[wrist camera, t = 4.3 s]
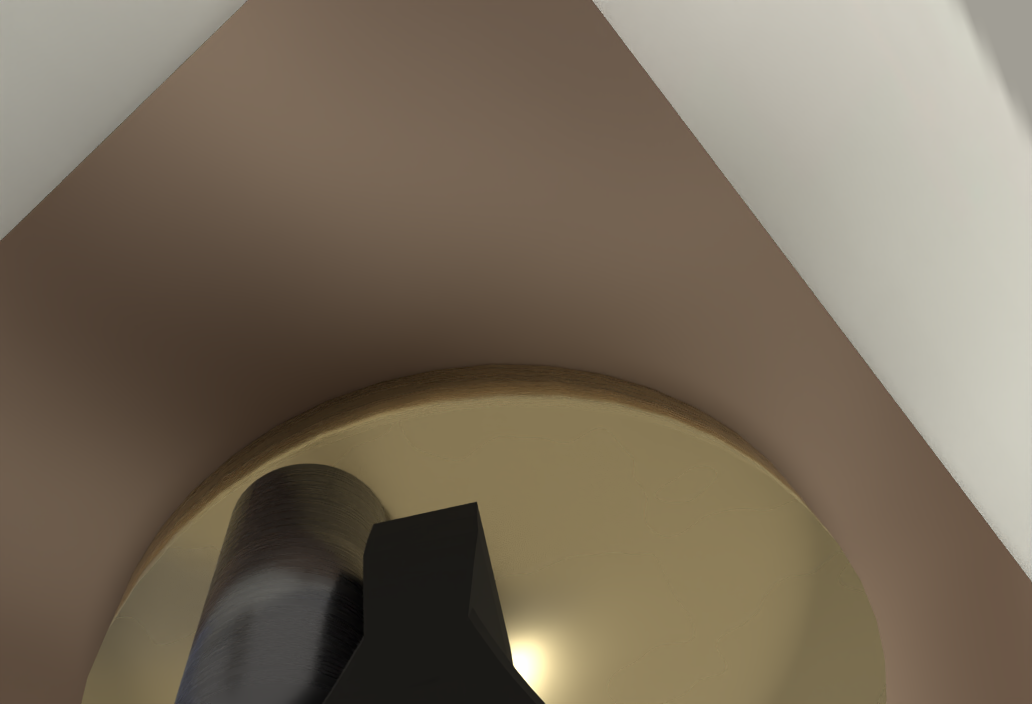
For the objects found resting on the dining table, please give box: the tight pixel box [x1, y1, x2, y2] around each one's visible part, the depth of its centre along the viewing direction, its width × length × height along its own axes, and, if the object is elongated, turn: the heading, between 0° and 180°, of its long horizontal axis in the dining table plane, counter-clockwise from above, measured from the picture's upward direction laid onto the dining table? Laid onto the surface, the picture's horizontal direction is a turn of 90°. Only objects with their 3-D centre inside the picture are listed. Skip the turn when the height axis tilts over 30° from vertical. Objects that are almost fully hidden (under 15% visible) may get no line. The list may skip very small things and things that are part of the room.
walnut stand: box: [0, 0, 1032, 704], centre depth 15 cm, size 14×20×4 cm
